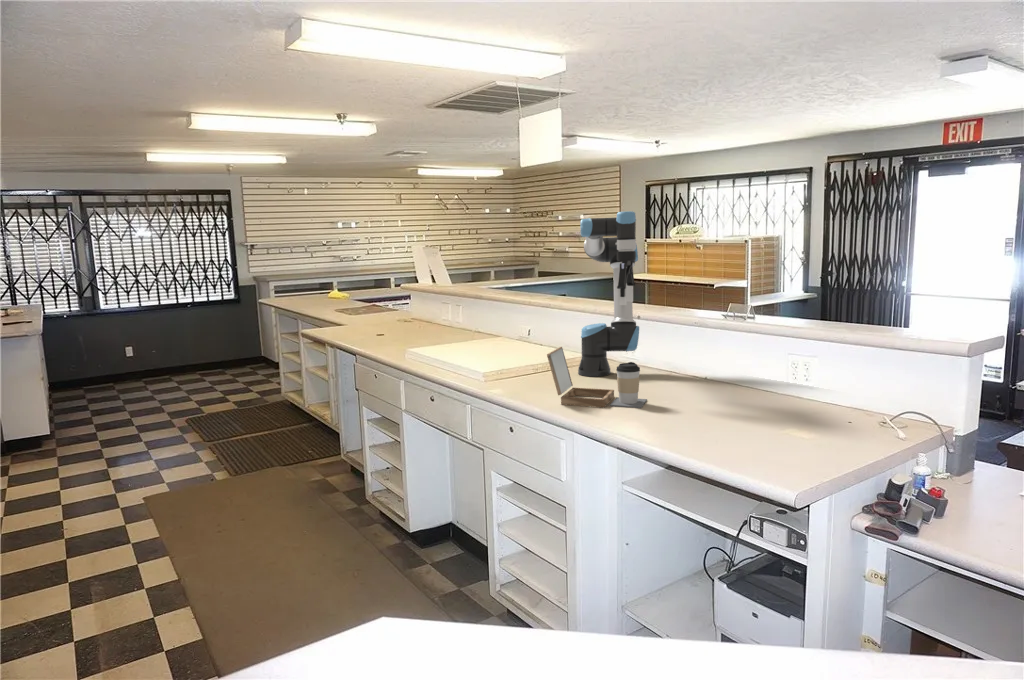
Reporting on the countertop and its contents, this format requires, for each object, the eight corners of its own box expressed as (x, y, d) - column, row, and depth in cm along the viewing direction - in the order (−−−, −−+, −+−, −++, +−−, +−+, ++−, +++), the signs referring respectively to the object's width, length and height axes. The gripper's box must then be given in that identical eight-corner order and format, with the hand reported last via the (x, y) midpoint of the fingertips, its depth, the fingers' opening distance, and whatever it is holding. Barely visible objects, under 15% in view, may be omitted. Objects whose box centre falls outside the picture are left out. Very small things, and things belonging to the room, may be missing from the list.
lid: (572, 385, 271) (570, 385, 272) (562, 346, 270) (559, 347, 271) (560, 394, 256) (558, 395, 256) (549, 353, 255) (546, 354, 255)
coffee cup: (633, 405, 249) (633, 366, 247) (612, 402, 254) (611, 364, 252) (644, 400, 256) (644, 362, 254) (623, 397, 261) (623, 360, 259)
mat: (616, 398, 263) (616, 397, 263) (646, 400, 258) (646, 399, 258) (609, 406, 252) (609, 404, 252) (641, 408, 247) (641, 406, 247)
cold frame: (573, 394, 272) (573, 387, 271) (614, 397, 266) (614, 389, 265) (561, 404, 256) (560, 397, 256) (604, 407, 250) (604, 399, 250)
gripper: (623, 249, 278) (623, 300, 281) (609, 251, 255) (610, 306, 258) (641, 249, 275) (641, 300, 279) (629, 251, 252) (629, 306, 256)
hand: (626, 303), depth 269 cm, fingers open, 13 cm apart
